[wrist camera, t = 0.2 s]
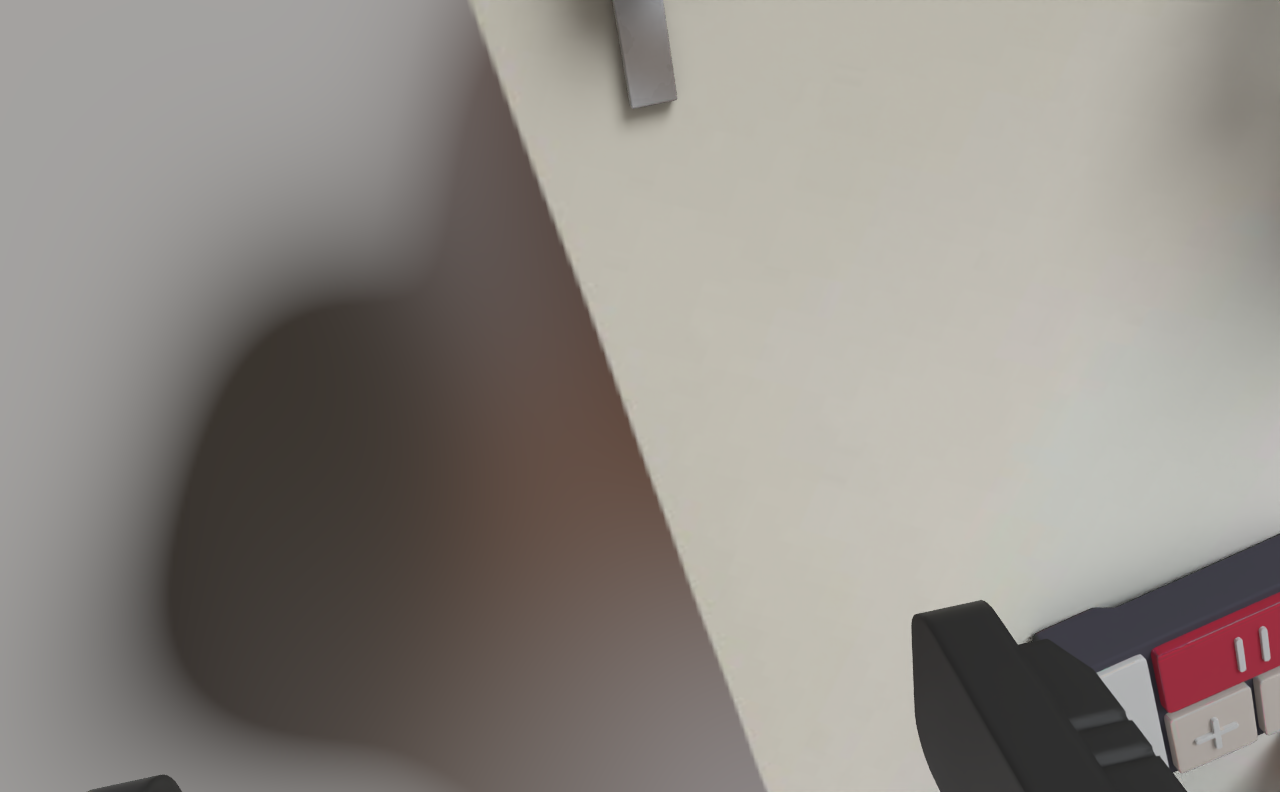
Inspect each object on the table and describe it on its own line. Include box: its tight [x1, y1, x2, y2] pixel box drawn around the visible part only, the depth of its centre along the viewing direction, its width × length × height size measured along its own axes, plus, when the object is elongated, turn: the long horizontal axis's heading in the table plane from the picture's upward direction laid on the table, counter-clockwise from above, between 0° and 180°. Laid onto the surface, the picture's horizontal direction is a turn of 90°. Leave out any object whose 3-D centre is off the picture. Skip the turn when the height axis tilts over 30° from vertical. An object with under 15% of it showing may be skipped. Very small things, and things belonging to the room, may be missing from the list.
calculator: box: [1033, 534, 1280, 773], centre depth 52 cm, size 11×4×15 cm
